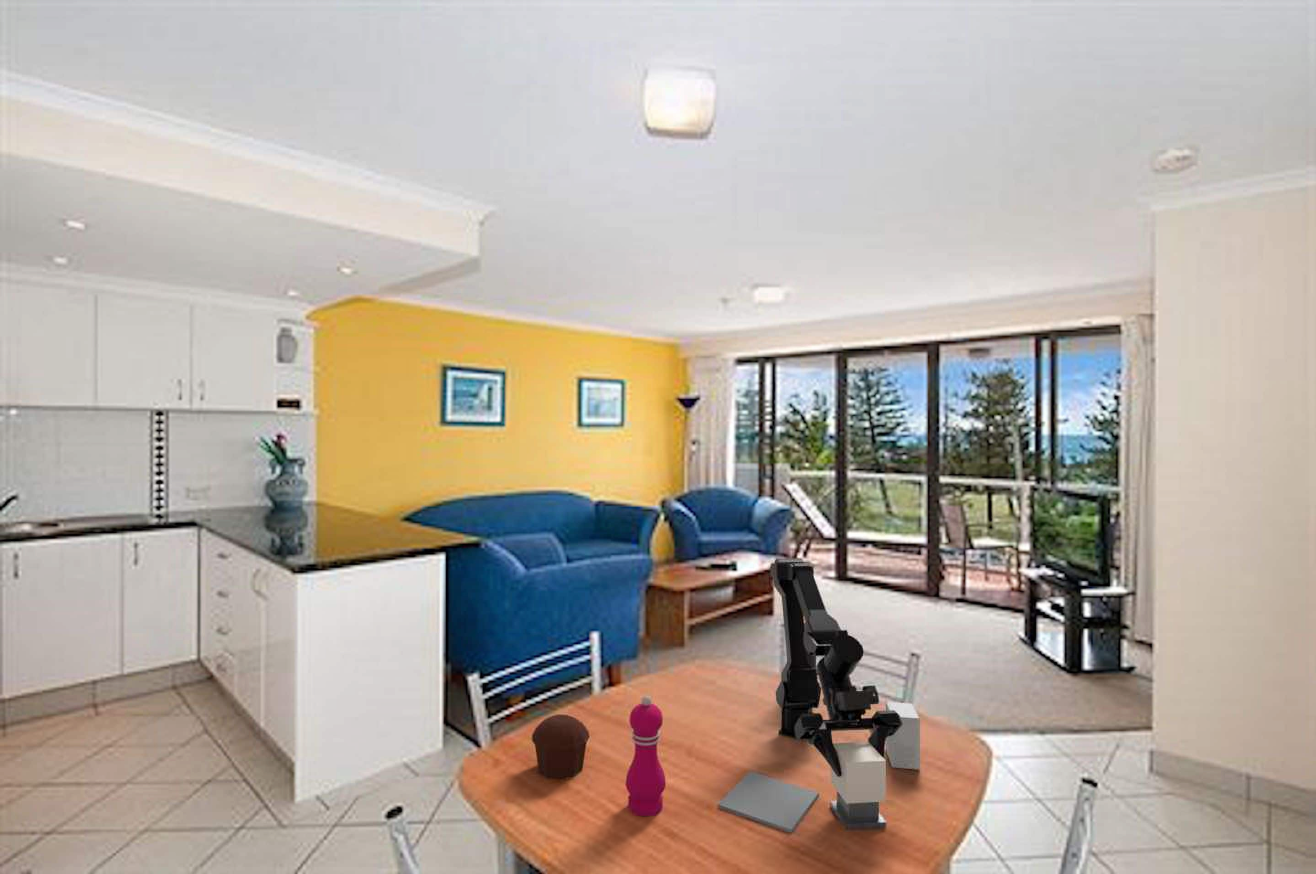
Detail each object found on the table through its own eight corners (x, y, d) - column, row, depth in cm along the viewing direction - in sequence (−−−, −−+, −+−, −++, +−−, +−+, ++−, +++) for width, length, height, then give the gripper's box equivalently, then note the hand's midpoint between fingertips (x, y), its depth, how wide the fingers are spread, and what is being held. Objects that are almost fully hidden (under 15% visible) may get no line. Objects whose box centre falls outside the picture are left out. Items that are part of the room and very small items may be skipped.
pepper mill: (624, 796, 121) (625, 688, 121) (663, 795, 121) (664, 688, 121) (626, 819, 113) (627, 704, 114) (667, 817, 114) (668, 703, 114)
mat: (717, 807, 117) (717, 804, 117) (750, 774, 129) (750, 771, 129) (791, 833, 110) (791, 829, 110) (818, 795, 122) (818, 792, 122)
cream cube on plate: (831, 782, 118) (831, 743, 118) (867, 780, 119) (868, 741, 119) (846, 803, 111) (846, 762, 111) (885, 801, 112) (885, 760, 112)
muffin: (600, 763, 133) (600, 714, 133) (568, 788, 123) (568, 736, 123) (553, 750, 139) (554, 703, 139) (519, 773, 129) (519, 722, 129)
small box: (920, 771, 131) (920, 718, 131) (890, 768, 132) (891, 716, 132) (912, 752, 139) (913, 703, 139) (885, 749, 140) (885, 700, 140)
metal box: (830, 806, 118) (830, 762, 118) (868, 804, 119) (868, 760, 119) (845, 830, 111) (846, 783, 111) (886, 828, 111) (886, 781, 112)
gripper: (799, 670, 118) (821, 761, 107) (897, 666, 120) (928, 755, 109) (786, 696, 125) (804, 783, 114) (878, 693, 128) (905, 778, 117)
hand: (860, 775), depth 113 cm, fingers open, 7 cm apart
